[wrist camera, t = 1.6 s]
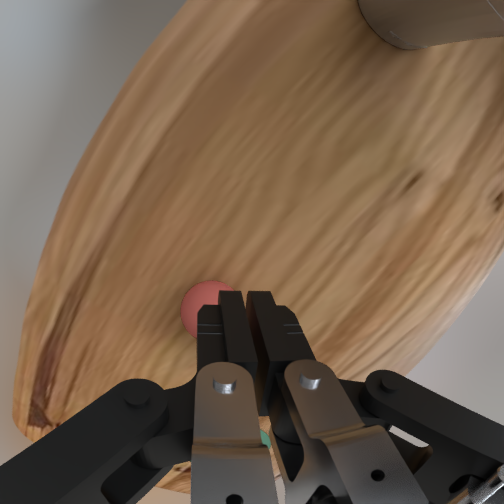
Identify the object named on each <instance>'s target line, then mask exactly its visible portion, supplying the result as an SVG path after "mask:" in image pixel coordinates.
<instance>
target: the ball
mask: <svg viewBox="0 0 504 504" xmlns="http://www.w3.org/2000/svg"><path fill="white" fill-rule="evenodd" d="M219 290H231V291H234V290H233V289H232V288H231V287H230V286H228V285H226V284H224V283H222V282H218V281H204V282H201V283H199V284H197V285H195V286H193V287H192V288H191V289H190V290H189V291H188V292H187V293H186V295H185V296H184V298H183V301H182V304H181V318H182V322H183V324H184V326H185V328H186V330H187V331H188V332H189V333H190V334H191V335H192V336H193V337H195V338H197V313H198V311H199V310H200V309H201V307H202V306H203V304H209V305H218V294H219Z"/></svg>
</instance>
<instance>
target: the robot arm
mask: <svg viewBox="0 0 504 504" xmlns="http://www.w3.org/2000/svg"><path fill="white" fill-rule="evenodd" d="M358 3H359V6H360V9H361V12H362V14H363V16H364V17H365V19H366V21H367V22H368V24H369V25H370V26H371V28H372V29H373V30H374V31H375V32H376V33H377V34H378V35H379V36H380V37H381V38H383V39H384V40H386V41H387V42H388V43H390V44H392V45H394V46H396V47H399V48H402V49H407V50H414V49H419V48H427V47H429V46H435V45H441V44H447V43H453V42H460V41H466V40H474V39H482V38H491V37H502V36H504V0H358ZM257 411H258V412H257ZM258 416H269V418H270V422H271V426H270V430H269V439H270V442H271V445H272V448H273V452H274V455H275V458H276V461H277V464H278V467H279V470H280V473H281V476H282V479H283V482H284V486H285V504H504V426H503V425H501V424H499V423H496V422H494V421H492V420H490V419H488V418H486V417H484V416H482V415H480V414H478V413H475V412H473V411H471V410H469V409H467V408H465V407H463V406H461V405H459V404H457V403H455V402H453V401H451V400H449V399H447V398H445V397H443V396H441V395H439V394H437V393H435V392H433V391H431V390H429V389H427V388H425V387H423V386H421V385H419V384H417V383H415V382H413V381H411V380H409V379H407V378H406V377H404V376H402V375H400V374H398V373H396V372H393V371H389V370H377V371H374V372H372V373H370V374H369V375H368V377H367V378H366V381H365V382H357V381H349V380H342V379H338V378H337V377H336V375H335V373H334V372H333V371H332V370H331V369H330V368H329V367H328V366H327V365H325V364H323V363H321V362H318V361H316V359H315V356H314V354H313V352H312V350H311V348H310V346H309V343H308V341H307V339H306V337H305V335H304V334H303V331H302V328H301V326H300V325H299V322H298V320H297V318H296V316H295V314H294V313H293V312H292V311H291V310H290V309H288V308H287V307H286V306H279V305H276V304H275V301H274V299H273V296H272V294H271V292H270V291H248V294H247V300H246V309H245V306H244V301H243V297H242V293H241V291H231V290H219V294H218V305H209V304H203V306H202V307H201V309H200V310H199V311H198V313H197V373H196V375H195V376H194V377H193V379H192V380H190V381H189V382H188V383H186V384H184V385H182V386H179V387H176V388H171V389H166V390H163V389H162V388H161V386H159V385H158V384H156V383H154V382H152V381H150V380H146V379H129V380H125V381H123V382H121V383H119V384H117V385H116V386H115V387H113V388H112V389H110V390H109V391H108V392H106V393H105V394H103V395H102V396H101V397H99V398H98V399H97V400H95V401H94V402H92V403H91V404H90V405H88V406H87V407H85V408H84V409H82V410H81V411H80V412H78V413H77V414H75V415H74V416H73V417H71V418H70V419H68V420H67V421H65V422H64V423H63V424H61V425H60V426H58V427H57V428H55V429H54V430H53V431H51V432H50V433H48V434H47V435H45V436H44V437H42V438H41V439H40V440H38V441H37V442H35V443H34V444H32V445H31V446H29V447H28V448H26V449H25V450H23V451H22V452H21V453H19V454H18V455H16V456H15V457H13V458H12V459H10V460H9V461H7V462H6V463H4V464H3V465H1V466H0V504H136V503H137V502H138V501H139V500H140V499H141V498H142V497H144V496H145V494H147V493H148V492H149V491H150V490H151V489H152V488H153V487H154V486H155V485H156V484H157V483H158V482H159V481H160V480H161V479H162V478H163V477H164V476H165V475H166V474H167V473H168V472H169V471H170V470H171V469H172V467H173V466H174V465H175V464H179V463H183V462H187V461H191V504H279V503H278V498H277V491H276V486H275V480H274V474H273V468H272V462H271V456H270V452H269V448H268V446H267V445H266V444H263V443H262V439H261V433H260V426H259V419H258ZM392 425H393V426H395V427H397V428H399V429H401V430H403V431H405V432H407V433H408V434H410V435H412V436H414V437H416V438H418V439H420V440H421V441H423V442H425V443H427V444H429V445H428V446H427V447H418V446H415V445H413V444H411V443H409V442H408V441H406V440H404V439H402V438H400V437H398V436H397V435H394V434H393V433H391V432H389V430H390V428H391V427H392Z"/></svg>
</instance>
